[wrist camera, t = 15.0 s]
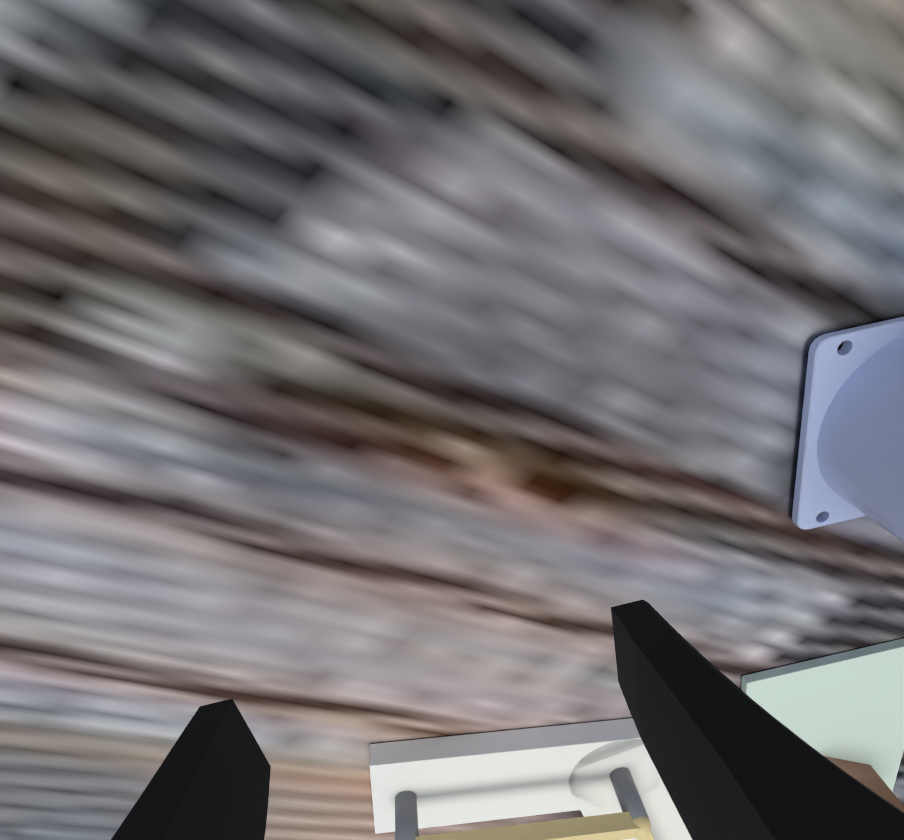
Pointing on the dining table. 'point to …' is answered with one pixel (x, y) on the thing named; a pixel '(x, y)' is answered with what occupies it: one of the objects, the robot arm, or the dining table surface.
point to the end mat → (842, 704)
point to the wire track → (525, 785)
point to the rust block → (868, 779)
